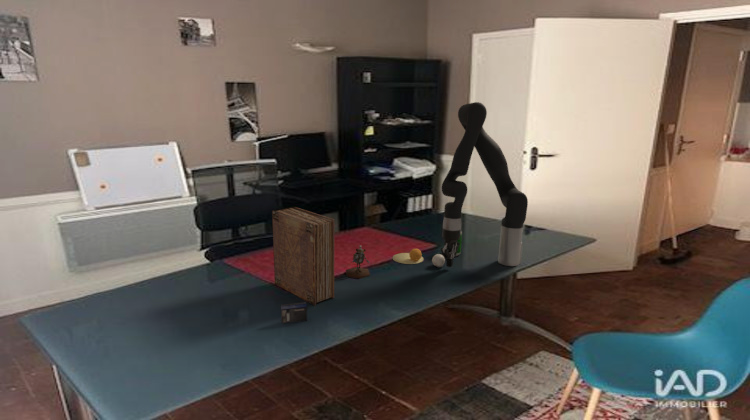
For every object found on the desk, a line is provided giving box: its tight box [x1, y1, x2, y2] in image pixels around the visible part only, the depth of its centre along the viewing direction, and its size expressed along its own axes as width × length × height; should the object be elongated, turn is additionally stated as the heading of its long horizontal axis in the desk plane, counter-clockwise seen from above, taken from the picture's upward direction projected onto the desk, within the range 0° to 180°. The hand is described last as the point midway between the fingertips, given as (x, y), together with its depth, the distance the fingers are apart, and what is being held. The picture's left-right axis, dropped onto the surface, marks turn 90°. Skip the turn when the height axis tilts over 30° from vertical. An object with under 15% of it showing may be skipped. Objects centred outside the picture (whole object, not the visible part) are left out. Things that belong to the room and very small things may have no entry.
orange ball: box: [408, 248, 423, 261], centre depth 218 cm, size 6×6×6 cm
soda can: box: [454, 230, 463, 257], centre depth 226 cm, size 8×8×12 cm
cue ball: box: [431, 253, 446, 268], centre depth 211 cm, size 6×6×6 cm
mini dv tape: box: [280, 301, 308, 324], centre depth 160 cm, size 8×2×6 cm, turn 106°
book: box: [271, 206, 335, 307], centre depth 180 cm, size 25×9×30 cm, turn 44°
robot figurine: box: [345, 245, 371, 280], centre depth 200 cm, size 11×9×12 cm
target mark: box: [392, 252, 424, 265], centre depth 221 cm, size 14×14×1 cm
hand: (449, 266), depth 208 cm, fingers closed
